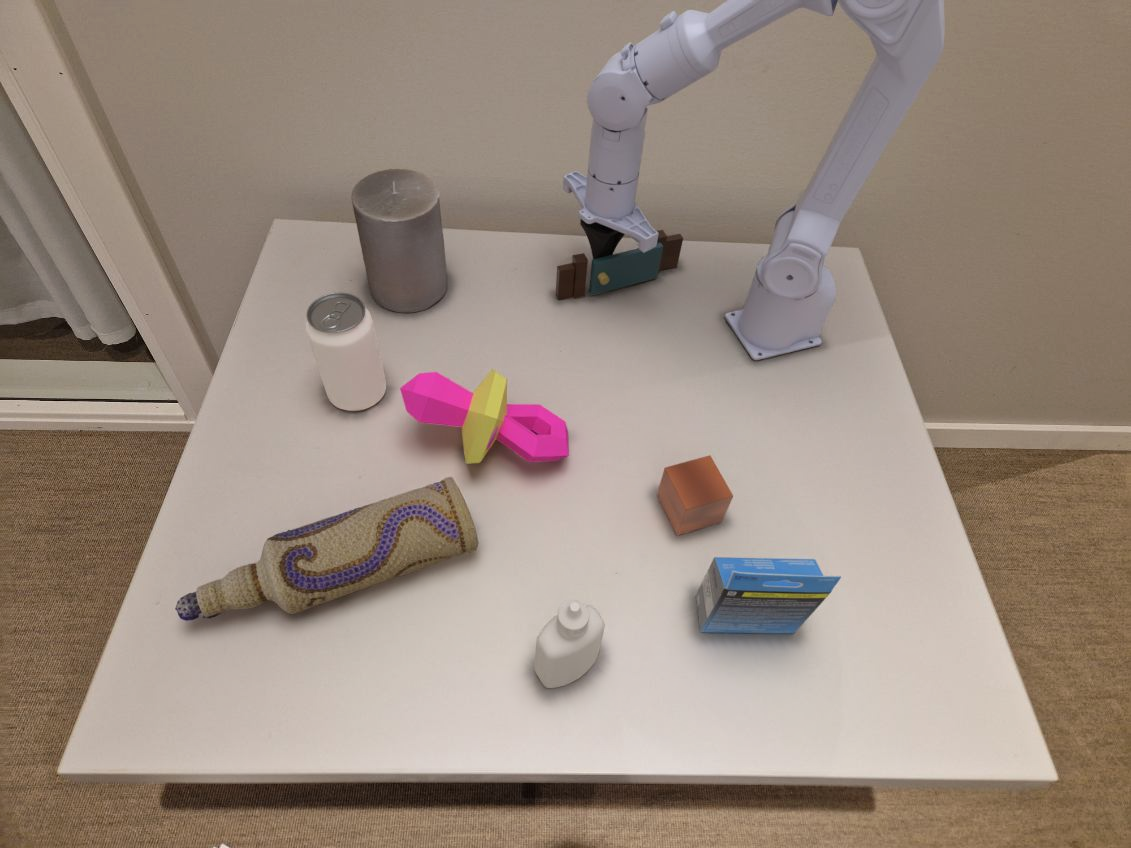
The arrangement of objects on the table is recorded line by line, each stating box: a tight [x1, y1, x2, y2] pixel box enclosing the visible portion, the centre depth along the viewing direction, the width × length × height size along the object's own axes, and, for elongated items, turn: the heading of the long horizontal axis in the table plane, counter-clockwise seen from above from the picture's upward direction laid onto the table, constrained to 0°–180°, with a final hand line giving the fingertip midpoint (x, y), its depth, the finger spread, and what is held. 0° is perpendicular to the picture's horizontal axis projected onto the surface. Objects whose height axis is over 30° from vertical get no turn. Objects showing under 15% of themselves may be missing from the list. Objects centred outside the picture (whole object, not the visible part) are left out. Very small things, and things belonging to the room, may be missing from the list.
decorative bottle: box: [174, 476, 479, 622], centre depth 65 cm, size 26×8×7 cm, turn 113°
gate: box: [555, 229, 684, 301], centre depth 92 cm, size 2×17×6 cm, turn 117°
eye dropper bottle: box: [534, 599, 606, 689], centre depth 59 cm, size 4×6×12 cm
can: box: [305, 291, 387, 412], centre depth 76 cm, size 6×6×12 cm
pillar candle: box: [351, 168, 448, 314], centre depth 85 cm, size 10×10×15 cm
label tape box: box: [695, 556, 842, 634], centre depth 62 cm, size 9×4×12 cm, turn 90°
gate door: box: [588, 243, 663, 296], centre depth 91 cm, size 2×10×5 cm, turn 114°
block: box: [656, 455, 734, 536], centre depth 72 cm, size 5×5×5 cm
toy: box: [399, 368, 570, 465], centre depth 74 cm, size 10×18×10 cm, turn 82°
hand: (602, 265), depth 91 cm, fingers closed
